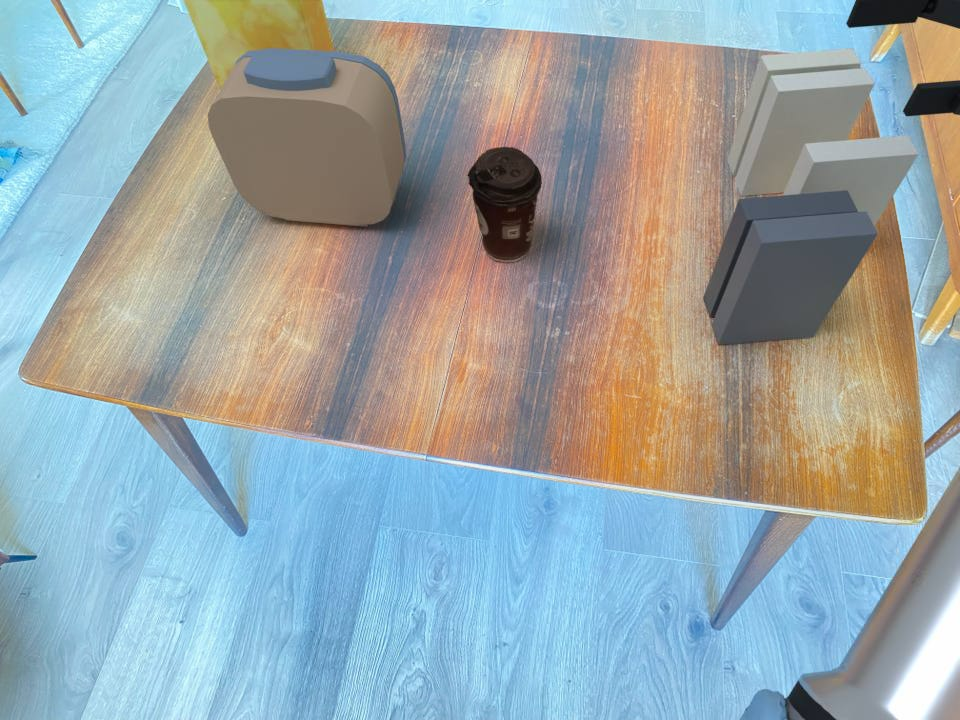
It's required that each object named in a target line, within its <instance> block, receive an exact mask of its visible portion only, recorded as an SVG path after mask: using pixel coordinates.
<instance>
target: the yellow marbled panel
mask: <svg viewBox="0 0 960 720" xmlns="http://www.w3.org/2000/svg"><path fill="white" fill-rule="evenodd" d="M183 3H184V6H185V8H186V10H187V13H188V15H189V17H190V20H191V22H192V24H193V27H194V30H195V32H196V34H197V37H198V39H199V42H200V44H201V46H202V49H203V51H204V54H205V56H206V58H207V61H208V63H209V66H210V69H211V71H212V73H213V75H214V78H215V80H216V84H217V85H218V88H219V90H220V89H221V88H222V86H223V84H224V82H225V81H226V79H227V77H228V75H229V74H230V72H231V70H232V69H233V67H234V65H235V63H236V62H237V60H238V59H239V58H240V57H241V56H242V55H244V54H245V53H246V52H248V51H252V50H261V49H270V48H276V49H297V50H318V51H335V48H334V44H333V40H332V36H331V32H330V28H329V27H330V26H329V23H328V19H327V15H326V10H325V6H324V3H323V0H183Z"/></svg>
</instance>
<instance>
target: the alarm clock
mask: <svg viewBox="0 0 960 720" xmlns="http://www.w3.org/2000/svg"><path fill="white" fill-rule="evenodd" d="M207 123H208V129H209V131H210V134H211V137H212V139H213V142H214V144H215V146H216V149H217V150H218V153H219V155H220V158H221V159H222V162H223V163H224V166H225V168H226V171H227V172H228V174H229V177H230V180H231V182H232V183H233V185H234V187H235V189H236V191H237V192H238V193H239V195H240V196H241V197H242V198H243V200H244V201H245V202H246V203H247V204H248V205H250V206H251V207H252V208H253V209H254V210H257V211H258V212H260V213H262V214H265V215H267V216H269V217H274V218H278V219H283V220H285V221H287V222H289V221H290V222H300V223H313V224H326V225H338V226H339V225H340V226H350V227H351V226H352V227H355V226H356V227H365V228H368V226H369V225H376V224H377V223H379V222H382V221H384V220H385V219H386V218H387V217H388V216H389V214H390V212H391V208H392V206H393V203H394V199H395V196H396V193H397V190H398V186H399V183H400V180H401V177H402V173H403V171H404V168H405V163H406V159H407V146H406V140H405V133H404V127H403V122H402V115H401V110H400V104H399V97H398V94H397V91H396V87H395V85H394V82H393V81H392V79H391V77H390V76H389V73H387V72H386V70H384V68H383V67H382V66H381V65H380V64H378V63H377V62H375V61H373V60H372V59H370V58H368V57H367V56H365V55H359V54H354V53H349V52H344V51H339V50H338V51H337V50H334V51H318V50H297V49H276V48H270V49H261V50H252V51H248V52H246V53H245V54H244V55H242V56H241V57H240V58H239V59H238V60H237V62H236V63H235V65H234V67H233V69H232V70H231V72H230V74H229V75H228V77H227V79H226V81H225V82H224V84H223V86H222V88H221V89H220V88H219V92H218V93H217V95H216V96H215V98H214V100H213V102H212V104H211V105H210V108H209V110H208V112H207Z"/></svg>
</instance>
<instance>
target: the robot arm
mask: <svg viewBox="0 0 960 720" xmlns="http://www.w3.org/2000/svg"><path fill="white" fill-rule="evenodd" d="M849 13H850V14H849V15H848V18H847V21H846V23H845V24H846V26H847V27H848V28H849V29H852V28H853V29H854V28H866V27H877V26H890V25H891V26H893V25H903V24H916V22H917V20H918V18H921V19H924V20H928V21H931V22H935V23H938V24H941V25H945V26H948V27H951V28H955V29H959V30H960V0H854V3H853V6H852V8H851V11H850V12H849ZM902 114H903V115H904V116H905V117H916V116H917V117H918V116H931V115H941V114H944V115H945V114H953V115H956V116H960V80H959V79H957V80H944V81H933V82H920V83H917V84H916V86H915V88H914V90H913V91H912V92H911V94H910V96H909V98H908V101H907V102H906V103H905V106H904V107H903V109H902ZM739 720H960V466H959V467H958V469H957V470H956V473H954V475H953V478H952V479H951V480H950V482H949V484H948V486H946V489H945V491H944V492H943V494H942V495H941V497H940V499H939V500H938V502H937V503H936V505H935V507H934V509H932V512H931V514H930V515H929V517H928V518H927V520H926V522H925V523H924V525H923V527H922V528H921V530H920V532H919V533H918V535H917V536H916V539H915V540H914V542H913V543H912V545H911V547H910V548H909V550H908V551H907V553H906V555H905V557H904V558H903V560H902V561H901V563H900V565H899V567H898V568H897V570H896V572H895V573H894V574H893V576H892V578H891V580H890V581H889V582H888V585H887V586H886V588H885V590H884V591H883V593H882V594H881V596H880V597H879V599H878V601H877V603H876V605H875V606H874V608H873V609H872V611H871V613H870V614H869V615H868V617H867V619H866V621H865V622H864V624H863V626H862V627H861V630H860V631H859V633H858V634H857V636H856V638H855V640H854V641H853V642H852V644H851V646H850V647H849V649H848V651H847V652H846V654H845V655H844V657H843V659H842V661H841V662H840V663H839V665H838V666H837V667H835V668H833V669H831V670H825V671H824V670H823V671H822V670H821V671H815V672H814V671H813V672H806V673H802V674H801V675H800V676H799V678H798V680H797V681H796V682H795V685H794V686H793V687H792V690H791V691H790V693H789V694H788V695H787V696H786V697H785V695H784V694H782V693H781V692H780V691H778V690H774V691H773V690H771V689H769V688H763V689H760V690H758V691H757V692H756V693H755V694H754V695H753V696H752V698H751V700H750V702H749V705H748V706H747V707H746V708H745V709H744V710H743V713H742V715H741V717H740V718H739Z"/></svg>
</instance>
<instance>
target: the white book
mask: <svg viewBox="0 0 960 720" xmlns="http://www.w3.org/2000/svg"><path fill="white" fill-rule="evenodd" d="M919 154H920V153H919V152H918V150H917V148H916V146H915V145H914V143H913V142H912V140H911V139H910V137H909V135H893V136H882V137H881V136H880V137H869V138H857V139H847V140H843V141H831V142H818V143H806V144H805V145H804V147H803V149H802V152H801V154H800V156H799V159H798V161H797V163H796V166H795V168H794V170H793V173H792V175H791V177H790V179H789V182H788V184H787V186H786V189H785V191H784V193H782V196H783V195H795V194H807V193H820V192H832V191H845V190H847V191H848V192H849V194H850V196H851V198H852V200H853V202H854V204H855V206H856V208H857V210H858V212H865V211H866V212H867V213H868V215H869V217H870V219H871V221H872V223H873V225H874V227H875V226H876V225H877V223H878V222H879V220H880V218H881V217H882V215H883V214H884V212H885V210H886V209H887V207H888V206H889V204H890V202H891V200H893V197H894V195H895V194H896V192H897V191H898V189H899V188H900V185H901V184H902V182H903V181H904V179H905V177H906V176H907V174H908V173H909V171H910V169H911V168H912V166H913V164H914V163H915V162H916V159H917V158H918V156H919Z"/></svg>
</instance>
